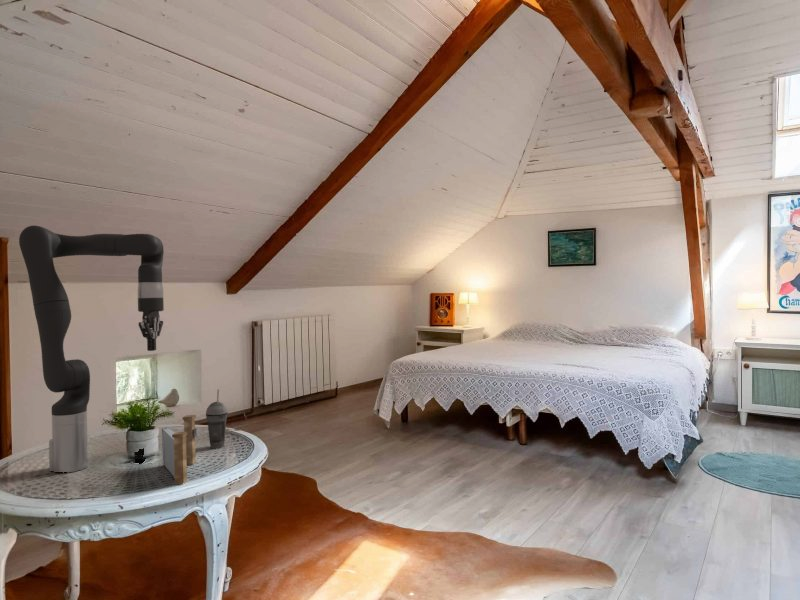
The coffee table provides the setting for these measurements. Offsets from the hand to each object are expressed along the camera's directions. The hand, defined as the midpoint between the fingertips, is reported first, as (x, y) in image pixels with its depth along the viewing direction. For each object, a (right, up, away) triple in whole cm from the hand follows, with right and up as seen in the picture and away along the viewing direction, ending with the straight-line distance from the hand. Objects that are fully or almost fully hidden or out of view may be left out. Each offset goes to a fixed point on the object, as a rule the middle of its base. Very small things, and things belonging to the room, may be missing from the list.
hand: (151, 350), depth 173 cm
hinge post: (+19, -35, -24) cm, 46 cm away
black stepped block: (-3, -36, 0) cm, 36 cm away
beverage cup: (+17, -35, +13) cm, 41 cm away
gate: (+13, -34, -14) cm, 39 cm away
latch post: (+15, -35, -6) cm, 38 cm away
